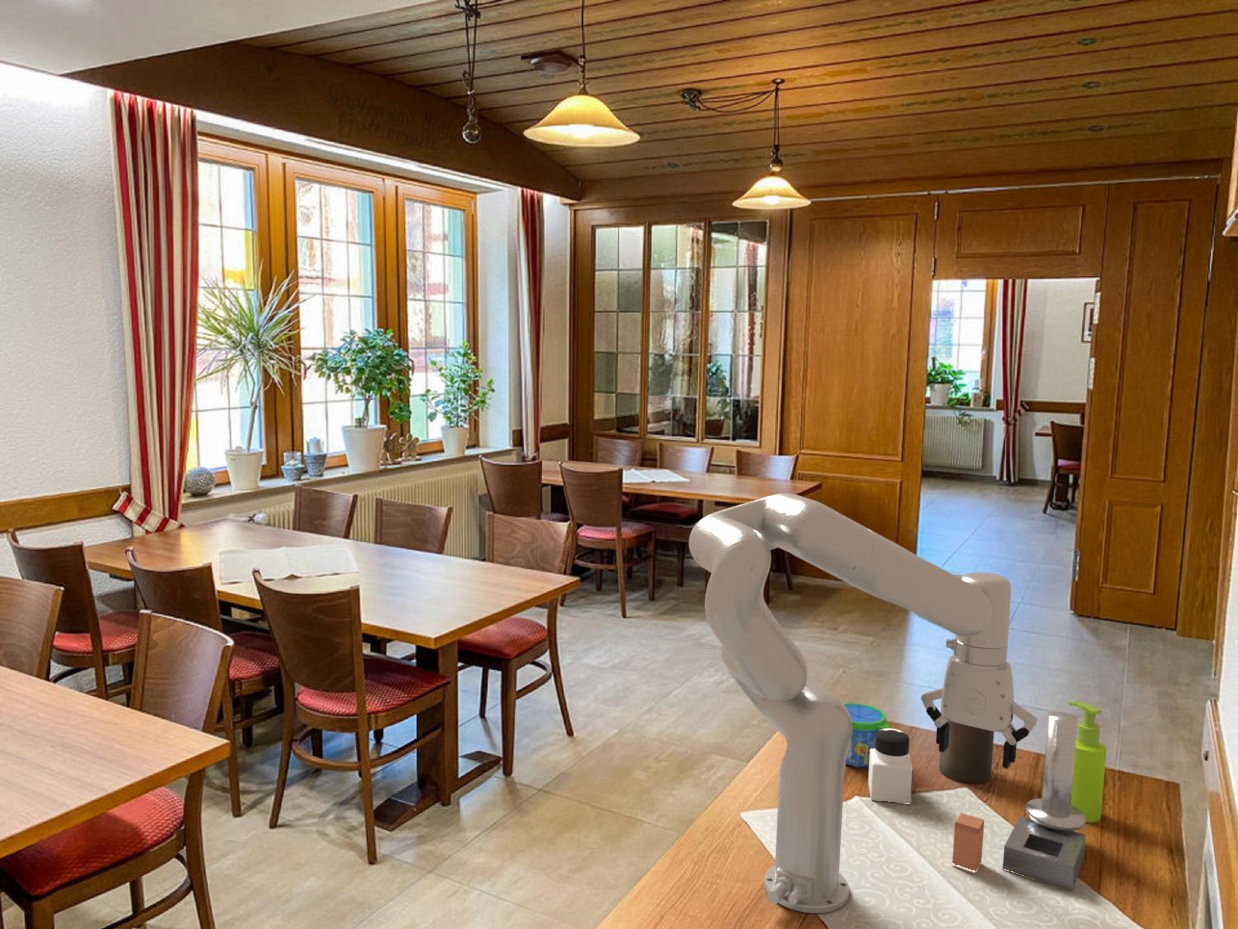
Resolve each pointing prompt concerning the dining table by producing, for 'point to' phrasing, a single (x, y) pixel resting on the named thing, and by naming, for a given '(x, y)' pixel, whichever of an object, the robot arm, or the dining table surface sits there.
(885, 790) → the medicine bottle
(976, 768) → the pillar candle
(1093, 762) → the soap dispenser
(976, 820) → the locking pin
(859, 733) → the snack cup
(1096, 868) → the dining table surface
